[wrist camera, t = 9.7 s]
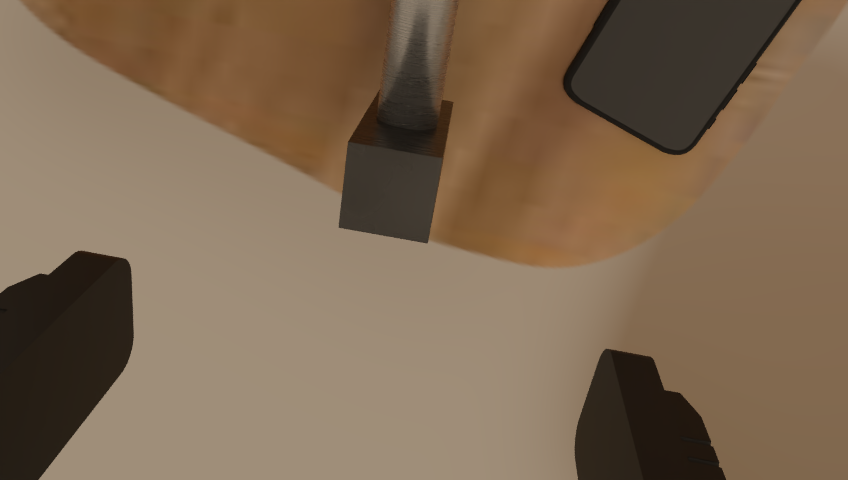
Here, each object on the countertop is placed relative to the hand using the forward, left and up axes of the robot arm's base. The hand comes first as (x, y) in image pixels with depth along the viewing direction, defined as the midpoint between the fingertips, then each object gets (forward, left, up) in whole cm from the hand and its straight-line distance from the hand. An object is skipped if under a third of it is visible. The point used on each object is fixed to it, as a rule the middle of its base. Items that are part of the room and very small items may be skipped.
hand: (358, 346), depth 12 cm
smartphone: (-5, +11, -25) cm, 28 cm away
